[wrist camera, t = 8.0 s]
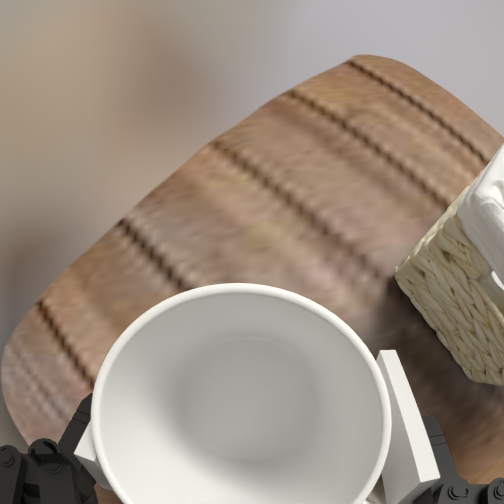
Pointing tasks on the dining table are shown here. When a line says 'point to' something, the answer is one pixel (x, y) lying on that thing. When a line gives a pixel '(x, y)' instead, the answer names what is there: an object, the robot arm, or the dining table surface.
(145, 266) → the dining table surface
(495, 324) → the storage basket
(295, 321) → the cup
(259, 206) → the dining table surface
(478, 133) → the dining table surface
